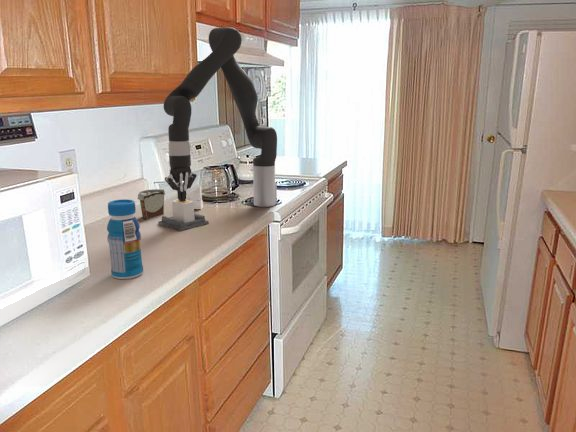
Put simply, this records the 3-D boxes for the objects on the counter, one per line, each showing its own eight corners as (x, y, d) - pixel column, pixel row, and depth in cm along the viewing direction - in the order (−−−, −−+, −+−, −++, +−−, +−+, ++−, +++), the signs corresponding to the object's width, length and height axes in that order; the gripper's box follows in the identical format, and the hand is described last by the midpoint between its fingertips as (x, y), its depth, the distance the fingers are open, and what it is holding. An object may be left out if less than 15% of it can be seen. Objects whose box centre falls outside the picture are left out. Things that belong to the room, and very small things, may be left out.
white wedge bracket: (211, 204, 200) (199, 186, 198) (191, 215, 202) (179, 197, 200) (213, 202, 203) (202, 184, 202) (193, 213, 205) (182, 195, 204)
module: (182, 217, 183) (181, 198, 181) (194, 220, 179) (193, 201, 177) (173, 219, 180) (171, 200, 178) (184, 222, 176) (183, 203, 174)
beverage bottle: (106, 280, 126) (99, 205, 121) (116, 268, 135) (109, 198, 130) (139, 280, 127) (133, 205, 122) (147, 268, 135) (141, 198, 130)
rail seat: (187, 217, 189) (186, 210, 188) (208, 223, 180) (208, 215, 179) (158, 224, 179) (157, 216, 178) (179, 230, 171) (179, 222, 170)
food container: (154, 212, 197) (153, 187, 194) (166, 213, 194) (164, 189, 192) (132, 219, 186) (130, 193, 184) (144, 221, 184) (142, 195, 181)
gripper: (188, 151, 180) (190, 196, 185) (157, 154, 171) (160, 202, 175) (201, 152, 175) (203, 199, 180) (170, 156, 166) (173, 205, 170)
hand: (182, 200), depth 177 cm, fingers closed
